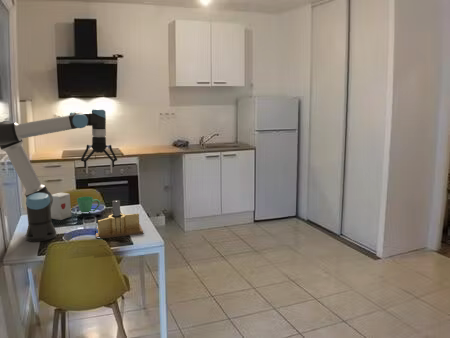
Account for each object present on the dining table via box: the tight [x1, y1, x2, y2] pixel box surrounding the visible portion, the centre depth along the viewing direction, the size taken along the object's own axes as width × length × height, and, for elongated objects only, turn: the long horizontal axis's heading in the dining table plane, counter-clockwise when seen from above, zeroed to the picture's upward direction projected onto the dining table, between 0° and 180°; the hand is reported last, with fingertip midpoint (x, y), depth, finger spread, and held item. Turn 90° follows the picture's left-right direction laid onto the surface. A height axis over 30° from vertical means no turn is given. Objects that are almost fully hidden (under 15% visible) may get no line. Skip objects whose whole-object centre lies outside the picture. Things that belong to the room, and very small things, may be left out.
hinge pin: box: [112, 200, 121, 217], centre depth 235 cm, size 4×4×16 cm
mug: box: [76, 196, 101, 213], centre depth 271 cm, size 15×10×10 cm
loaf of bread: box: [95, 212, 144, 239], centre depth 235 cm, size 25×15×10 cm, turn 109°
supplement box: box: [51, 192, 72, 221], centre depth 263 cm, size 9×9×15 cm
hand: (99, 172), depth 245 cm, fingers open, 13 cm apart
